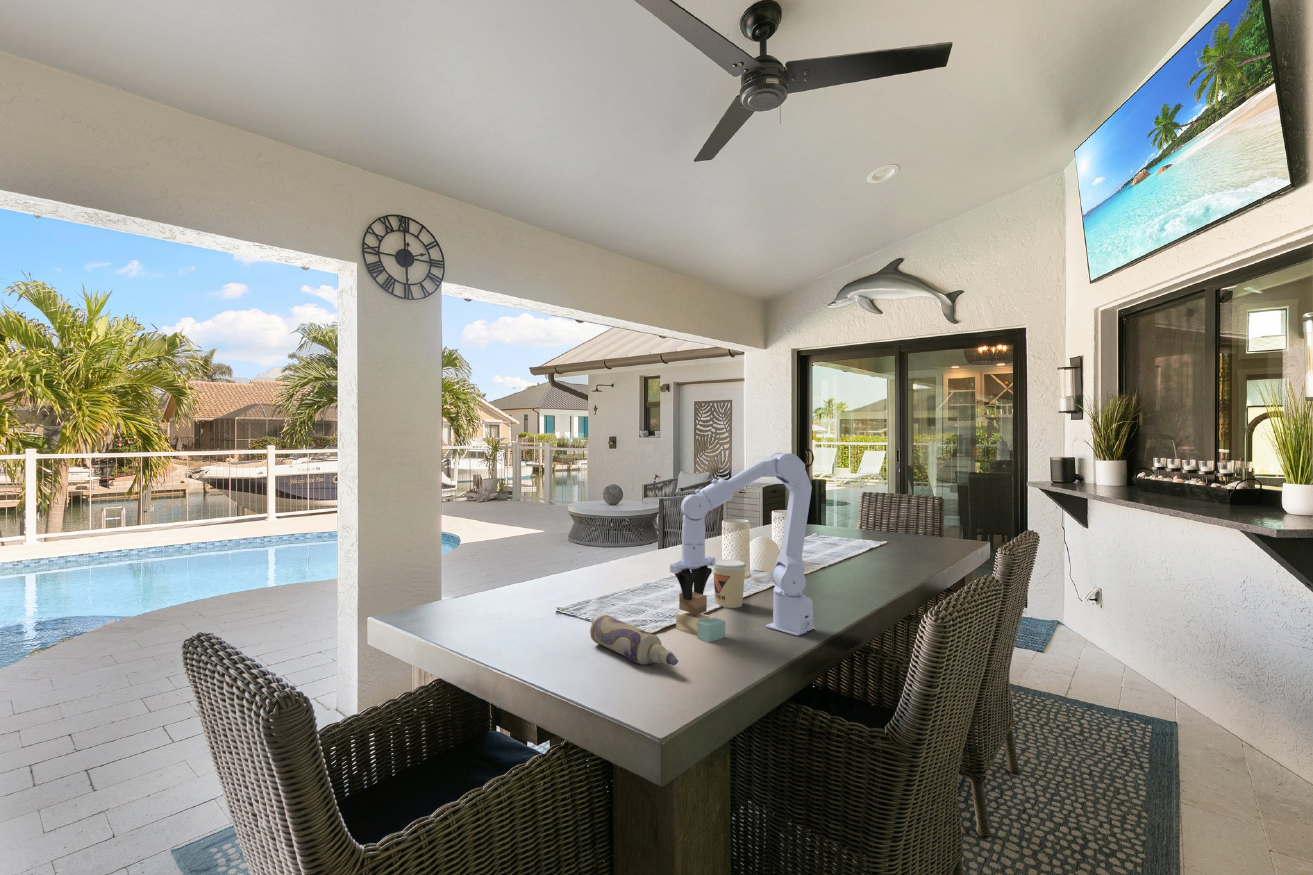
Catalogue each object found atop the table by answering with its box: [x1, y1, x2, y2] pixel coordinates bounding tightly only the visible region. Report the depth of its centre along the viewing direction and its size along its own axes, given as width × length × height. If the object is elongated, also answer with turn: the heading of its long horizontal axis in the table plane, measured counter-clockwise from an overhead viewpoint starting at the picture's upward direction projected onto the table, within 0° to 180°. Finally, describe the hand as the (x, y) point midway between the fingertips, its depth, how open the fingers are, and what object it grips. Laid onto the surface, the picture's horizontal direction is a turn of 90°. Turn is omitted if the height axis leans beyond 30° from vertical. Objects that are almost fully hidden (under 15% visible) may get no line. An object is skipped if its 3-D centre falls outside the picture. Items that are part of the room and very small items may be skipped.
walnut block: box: [678, 591, 708, 614], centre depth 148 cm, size 6×4×4 cm, turn 44°
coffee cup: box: [712, 559, 747, 609], centre depth 172 cm, size 9×9×12 cm
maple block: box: [675, 610, 711, 636], centre depth 148 cm, size 7×4×4 cm, turn 46°
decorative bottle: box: [589, 614, 679, 666], centre depth 129 cm, size 26×8×7 cm, turn 40°
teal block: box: [696, 617, 726, 643], centre depth 143 cm, size 6×4×4 cm, turn 133°
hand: (692, 598), depth 148 cm, fingers closed on walnut block, 3 cm apart
